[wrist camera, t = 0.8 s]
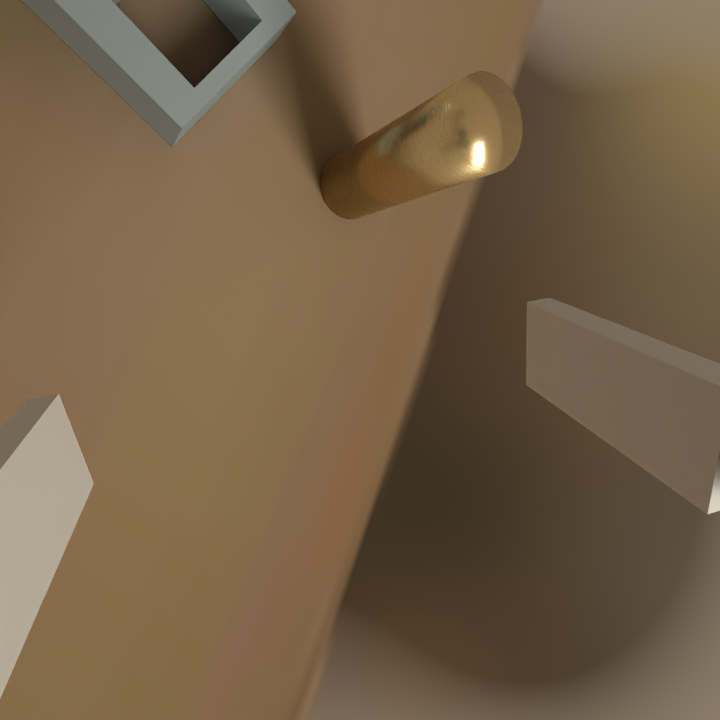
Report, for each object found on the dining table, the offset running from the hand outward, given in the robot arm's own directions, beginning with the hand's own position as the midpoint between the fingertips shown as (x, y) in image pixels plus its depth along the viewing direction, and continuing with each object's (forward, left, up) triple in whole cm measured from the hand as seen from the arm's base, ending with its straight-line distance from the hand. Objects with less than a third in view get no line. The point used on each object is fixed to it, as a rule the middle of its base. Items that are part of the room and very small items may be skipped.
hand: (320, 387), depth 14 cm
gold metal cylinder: (+1, +15, -19) cm, 25 cm away
